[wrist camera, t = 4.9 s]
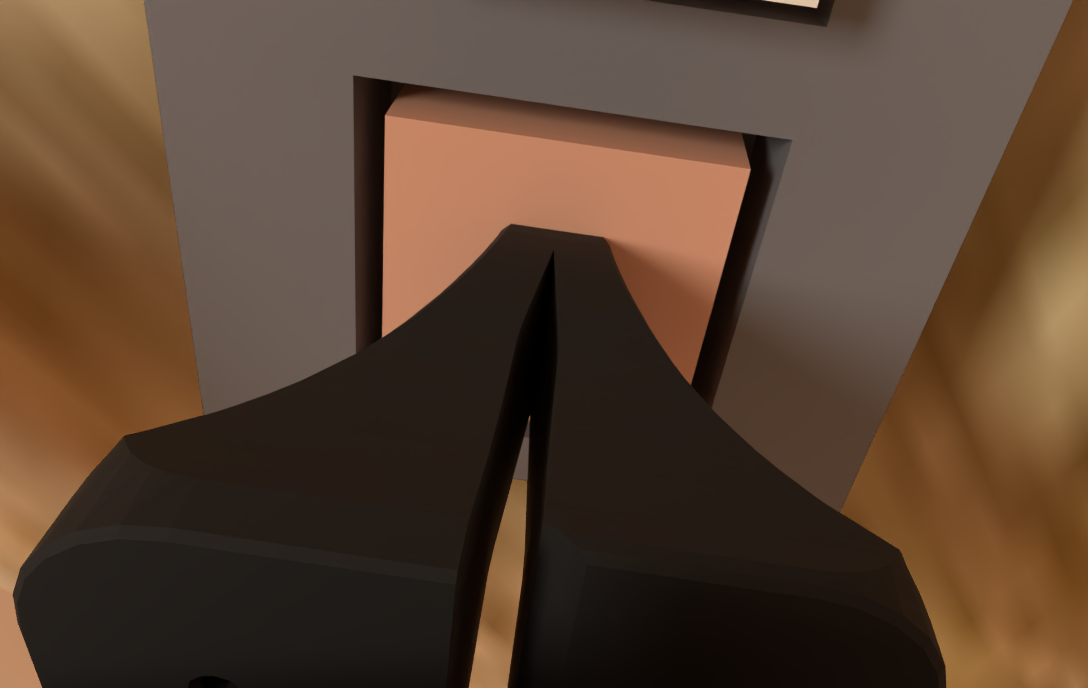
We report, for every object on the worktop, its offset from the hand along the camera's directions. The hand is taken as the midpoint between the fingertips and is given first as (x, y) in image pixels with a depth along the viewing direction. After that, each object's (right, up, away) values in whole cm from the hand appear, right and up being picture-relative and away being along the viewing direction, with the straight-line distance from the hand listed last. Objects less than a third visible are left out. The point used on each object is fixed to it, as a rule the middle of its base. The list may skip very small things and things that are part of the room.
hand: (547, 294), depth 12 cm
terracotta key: (0, +1, +1) cm, 2 cm away
